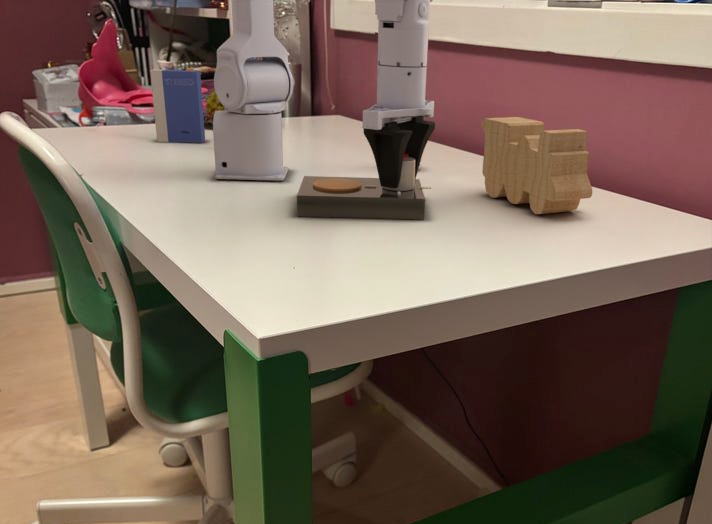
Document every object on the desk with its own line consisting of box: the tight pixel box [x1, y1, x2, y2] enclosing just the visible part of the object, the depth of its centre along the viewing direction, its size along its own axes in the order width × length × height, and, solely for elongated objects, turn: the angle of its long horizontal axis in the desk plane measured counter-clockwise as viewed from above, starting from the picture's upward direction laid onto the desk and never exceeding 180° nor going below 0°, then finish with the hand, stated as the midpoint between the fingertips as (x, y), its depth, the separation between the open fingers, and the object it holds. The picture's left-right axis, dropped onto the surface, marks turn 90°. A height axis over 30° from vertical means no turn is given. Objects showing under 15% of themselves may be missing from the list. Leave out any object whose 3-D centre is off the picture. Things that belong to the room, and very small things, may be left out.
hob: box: [296, 175, 432, 221], centre depth 92 cm, size 16×11×3 cm
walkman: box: [149, 67, 206, 144], centre depth 128 cm, size 8×3×12 cm, turn 91°
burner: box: [313, 179, 362, 192], centre depth 91 cm, size 6×6×1 cm
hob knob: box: [382, 154, 415, 191], centre depth 91 cm, size 4×4×4 cm
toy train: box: [481, 116, 593, 215], centre depth 95 cm, size 6×17×10 cm, turn 27°
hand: (398, 183), depth 91 cm, fingers closed on hob knob, 4 cm apart
